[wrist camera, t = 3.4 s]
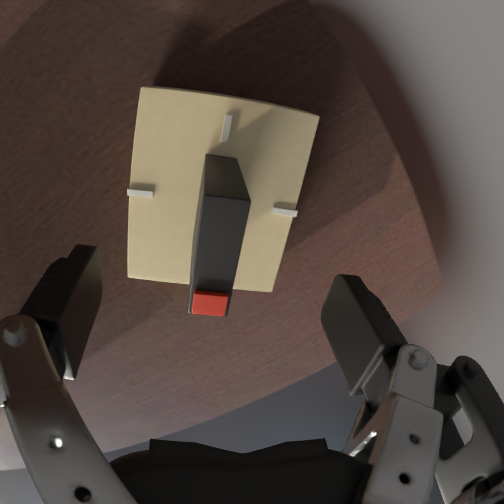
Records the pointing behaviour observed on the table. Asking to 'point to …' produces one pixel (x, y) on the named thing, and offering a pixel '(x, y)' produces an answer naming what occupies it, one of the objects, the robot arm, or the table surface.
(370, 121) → the table surface
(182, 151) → the dial panel
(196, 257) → the dial knob
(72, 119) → the table surface
